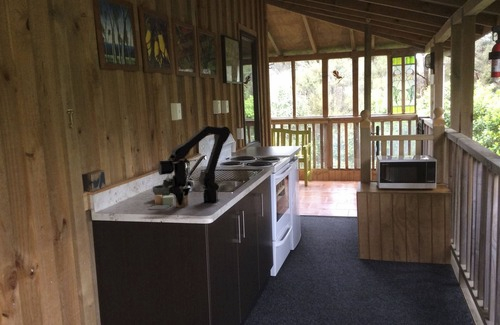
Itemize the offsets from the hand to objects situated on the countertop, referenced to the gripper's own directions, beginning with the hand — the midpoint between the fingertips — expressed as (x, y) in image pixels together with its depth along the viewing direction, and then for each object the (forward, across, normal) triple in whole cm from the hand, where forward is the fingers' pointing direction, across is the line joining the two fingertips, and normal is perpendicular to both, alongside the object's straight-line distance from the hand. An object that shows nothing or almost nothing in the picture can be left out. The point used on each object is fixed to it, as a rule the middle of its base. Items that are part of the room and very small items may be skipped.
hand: (182, 203), depth 222 cm
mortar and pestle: (+1, -15, -16) cm, 22 cm away
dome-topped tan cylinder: (+1, -4, -14) cm, 15 cm away
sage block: (+1, -4, -9) cm, 10 cm away
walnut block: (+1, 0, 0) cm, 1 cm away
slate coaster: (+1, +4, -10) cm, 11 cm away
